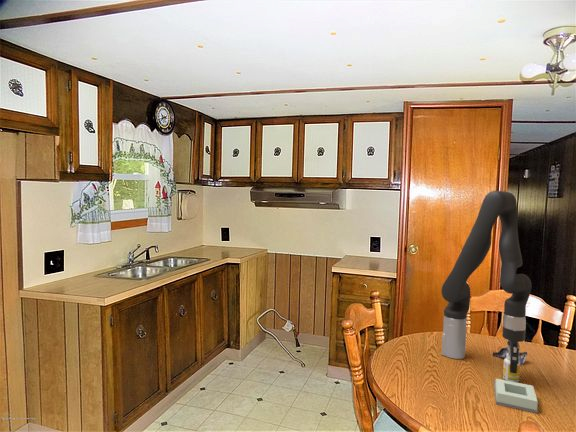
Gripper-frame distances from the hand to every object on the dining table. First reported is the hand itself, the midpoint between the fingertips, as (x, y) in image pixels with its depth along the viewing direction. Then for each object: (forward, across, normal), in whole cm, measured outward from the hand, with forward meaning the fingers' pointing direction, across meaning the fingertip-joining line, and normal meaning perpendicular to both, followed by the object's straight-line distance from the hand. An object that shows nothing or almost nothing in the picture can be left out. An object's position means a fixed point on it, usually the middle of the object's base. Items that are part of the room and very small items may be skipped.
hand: (512, 368), depth 149 cm
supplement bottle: (+5, 0, 0) cm, 5 cm away
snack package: (+5, -21, 0) cm, 22 cm away
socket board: (+4, +14, 0) cm, 15 cm away
